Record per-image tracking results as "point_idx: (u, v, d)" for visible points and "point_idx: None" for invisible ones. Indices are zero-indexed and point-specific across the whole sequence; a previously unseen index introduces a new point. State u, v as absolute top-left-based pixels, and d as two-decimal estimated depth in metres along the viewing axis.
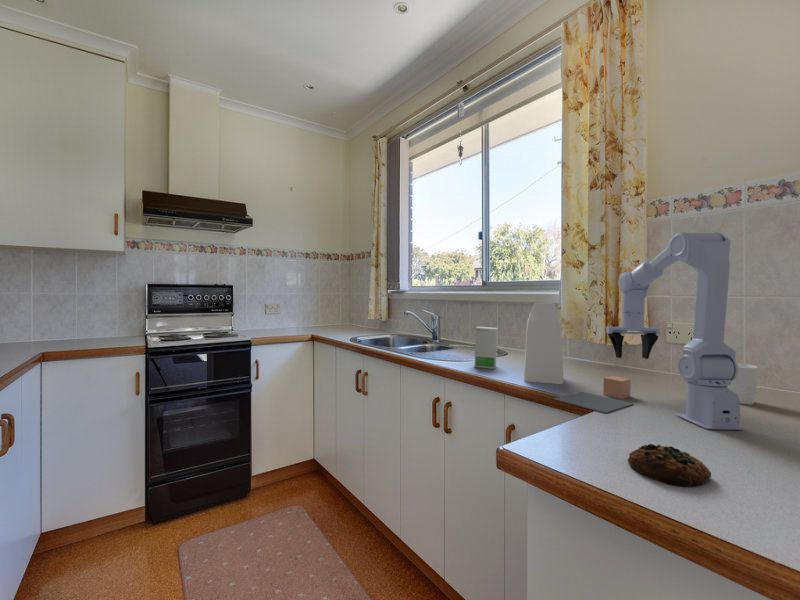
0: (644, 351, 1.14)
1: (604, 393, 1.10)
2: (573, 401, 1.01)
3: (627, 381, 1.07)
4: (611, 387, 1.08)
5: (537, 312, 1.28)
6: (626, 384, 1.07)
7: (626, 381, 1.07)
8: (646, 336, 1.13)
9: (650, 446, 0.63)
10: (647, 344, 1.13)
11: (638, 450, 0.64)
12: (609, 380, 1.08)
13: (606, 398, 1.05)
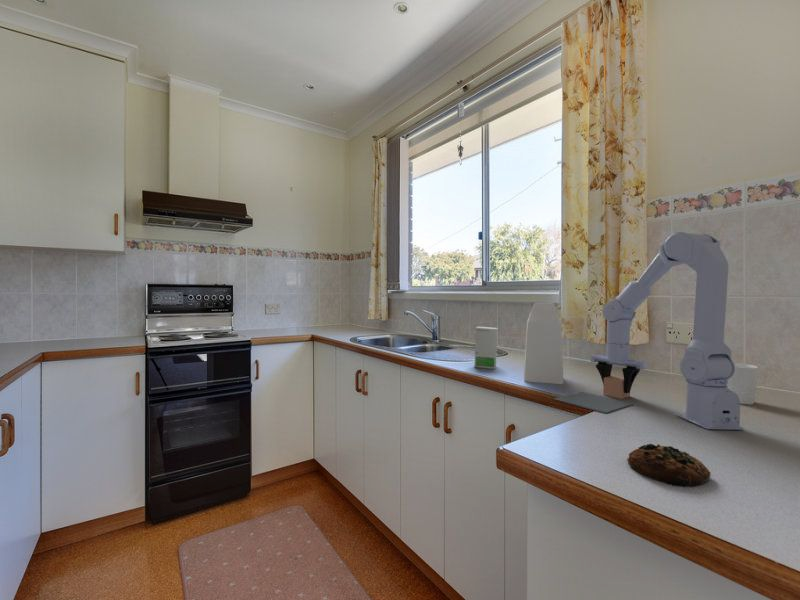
0: None
1: (604, 393, 1.10)
2: (573, 401, 1.01)
3: None
4: (611, 386, 1.08)
5: (537, 312, 1.28)
6: None
7: None
8: None
9: (649, 446, 0.63)
10: None
11: (638, 450, 0.64)
12: (609, 380, 1.08)
13: (606, 398, 1.05)
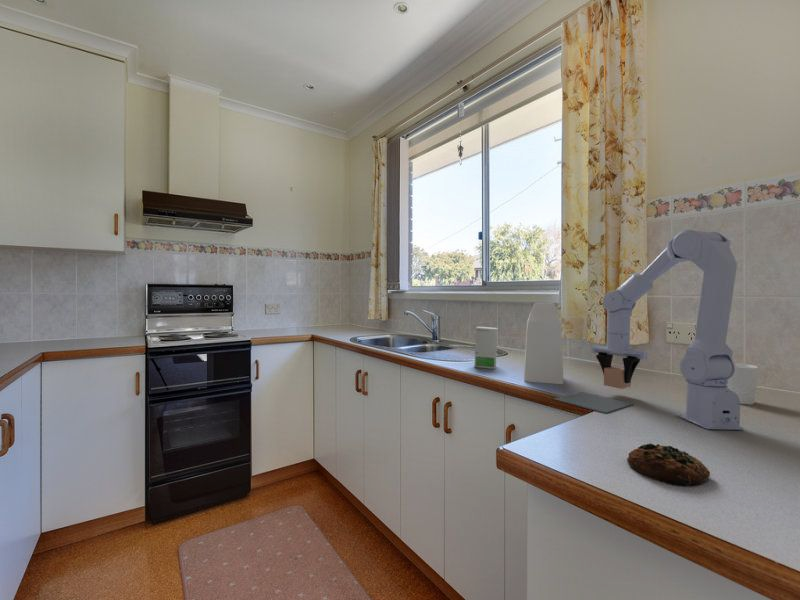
0: None
1: (604, 383, 1.09)
2: (573, 401, 1.01)
3: None
4: (611, 377, 1.08)
5: (537, 312, 1.28)
6: None
7: None
8: None
9: (649, 446, 0.63)
10: None
11: (637, 450, 0.64)
12: (609, 370, 1.08)
13: (606, 398, 1.05)
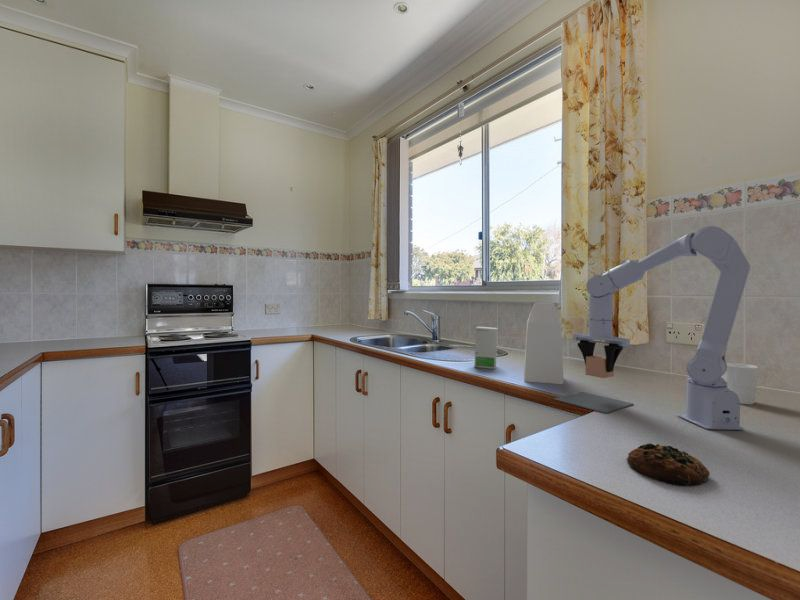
0: None
1: (586, 372, 1.04)
2: (573, 401, 1.01)
3: None
4: (593, 366, 1.02)
5: (537, 312, 1.28)
6: None
7: None
8: None
9: (649, 445, 0.63)
10: None
11: (637, 449, 0.64)
12: (591, 359, 1.03)
13: (606, 398, 1.05)
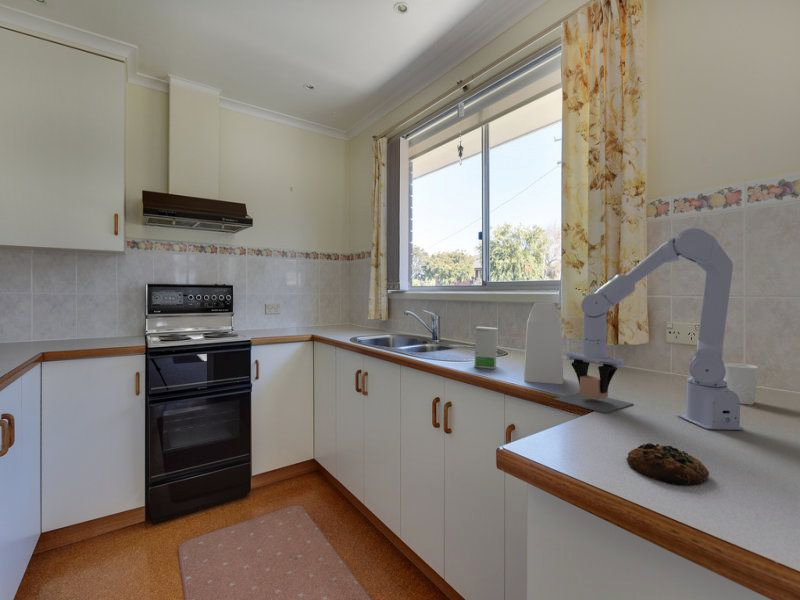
0: None
1: (580, 393, 1.02)
2: (573, 401, 1.01)
3: None
4: (587, 386, 1.01)
5: (537, 312, 1.28)
6: None
7: None
8: None
9: (648, 445, 0.64)
10: None
11: (637, 449, 0.64)
12: (585, 379, 1.01)
13: (606, 398, 1.05)
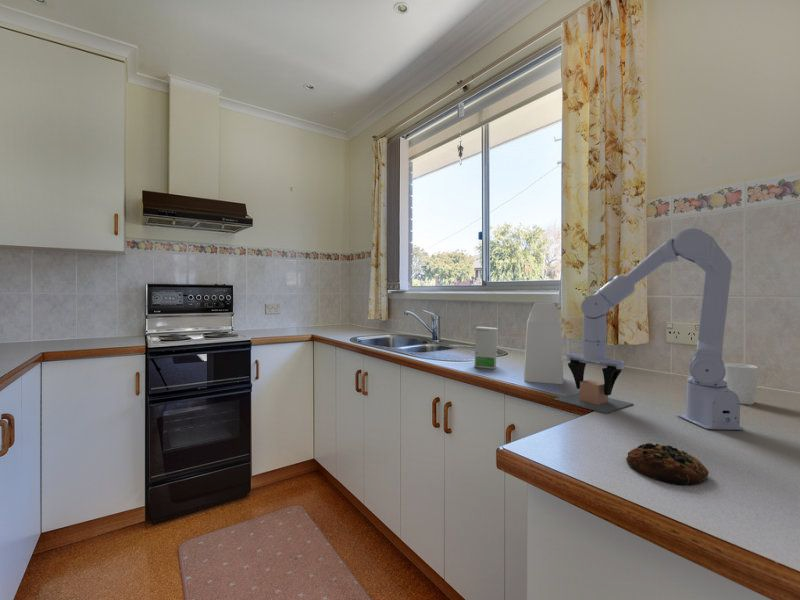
0: None
1: (580, 398, 1.02)
2: (573, 401, 1.01)
3: None
4: (587, 392, 1.01)
5: (537, 312, 1.28)
6: (603, 388, 1.00)
7: (603, 385, 1.00)
8: None
9: (648, 445, 0.64)
10: None
11: (636, 449, 0.65)
12: (585, 384, 1.01)
13: None
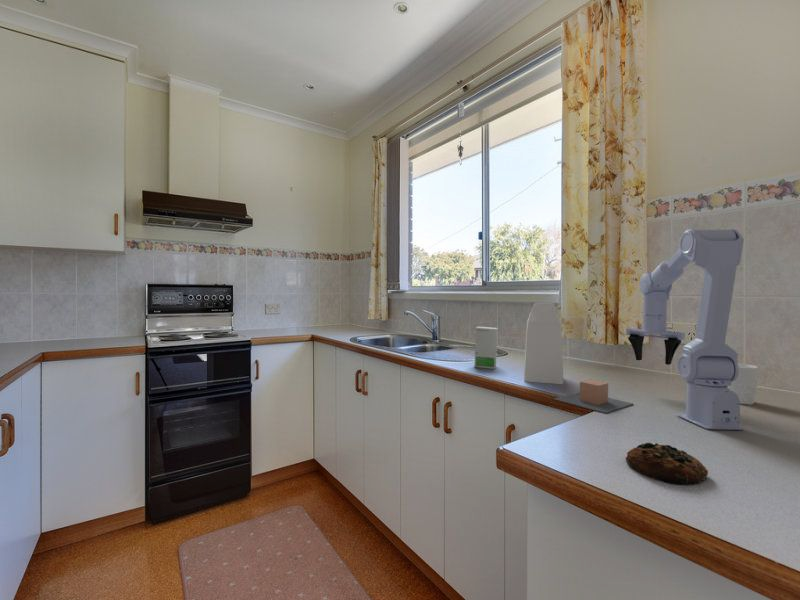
0: None
1: (580, 398, 1.02)
2: (573, 401, 1.01)
3: (604, 385, 1.00)
4: (587, 392, 1.01)
5: (537, 312, 1.28)
6: (603, 388, 1.00)
7: (603, 385, 1.00)
8: None
9: (647, 445, 0.64)
10: None
11: (636, 449, 0.65)
12: (585, 384, 1.01)
13: None
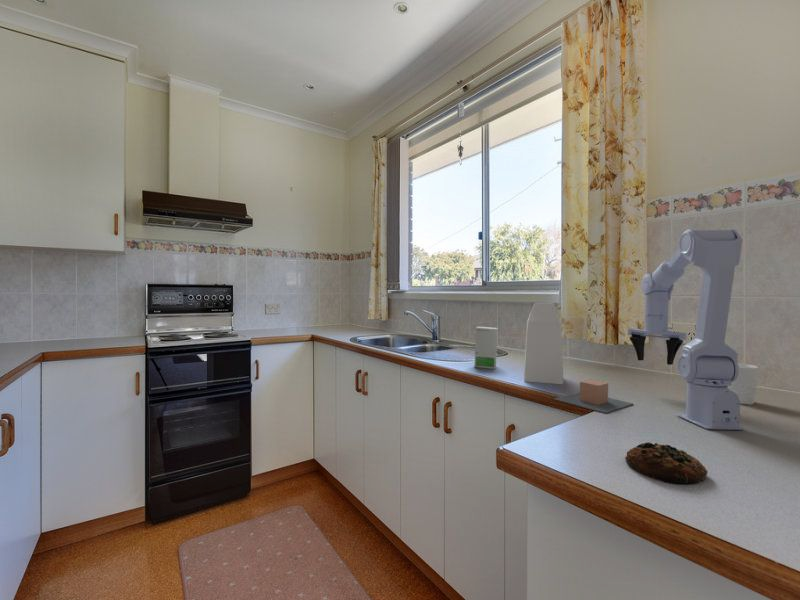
0: None
1: (580, 398, 1.02)
2: (573, 401, 1.01)
3: (604, 385, 1.00)
4: (587, 392, 1.01)
5: (537, 312, 1.28)
6: (603, 388, 1.00)
7: (603, 385, 1.00)
8: None
9: (647, 444, 0.64)
10: None
11: (635, 448, 0.65)
12: (585, 384, 1.01)
13: None
